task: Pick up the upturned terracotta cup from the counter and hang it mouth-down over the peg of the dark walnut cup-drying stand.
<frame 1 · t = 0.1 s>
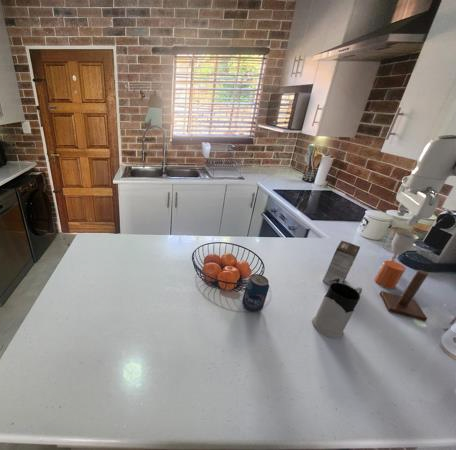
hand: (404, 219, 92), 27 cm above the countertop, tool pointing down, fingers open, 8 cm apart
stand: (400, 306, 89), on the countertop
cup: (384, 283, 101), on the countertop
soda can: (251, 306, 87), on the countertop
chalice: (386, 270, 109), on the countertop
glass holder: (332, 324, 81), on the countertop
coffee box: (333, 280, 102), on the countertop
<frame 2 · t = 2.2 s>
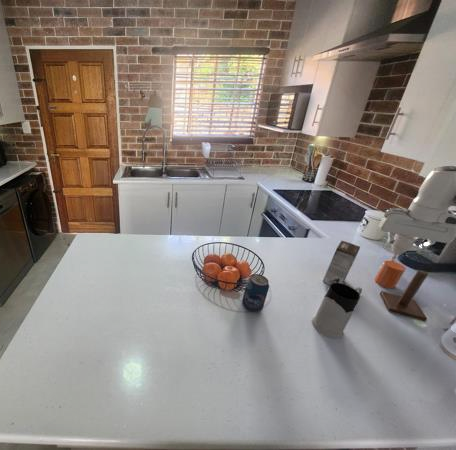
hand: (405, 245, 93), 18 cm above the countertop, tool pointing down, fingers open, 8 cm apart
nothing on the countertop moved.
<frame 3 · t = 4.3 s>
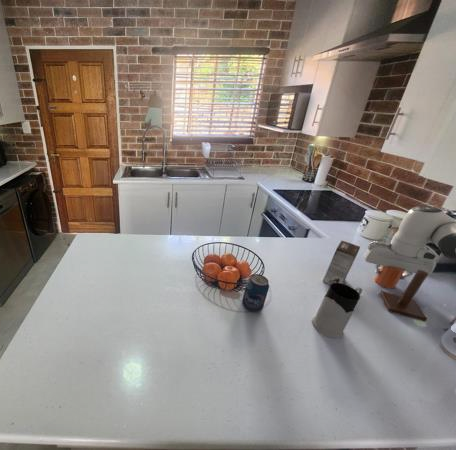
hand: (388, 276, 99), 4 cm above the countertop, tool pointing down, fingers closed on cup, 6 cm apart
cup: (384, 283, 101), on the countertop, touching gripper
everything else where it was.
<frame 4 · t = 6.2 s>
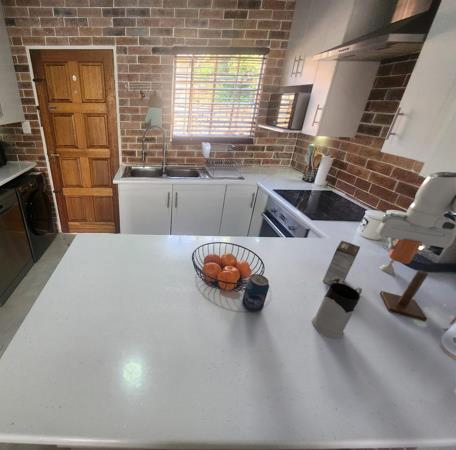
hand: (403, 250, 94), 16 cm above the countertop, tool pointing down, fingers closed on cup, 6 cm apart
cup: (399, 258, 95), point 12 cm above the countertop, touching gripper
everything else where it was.
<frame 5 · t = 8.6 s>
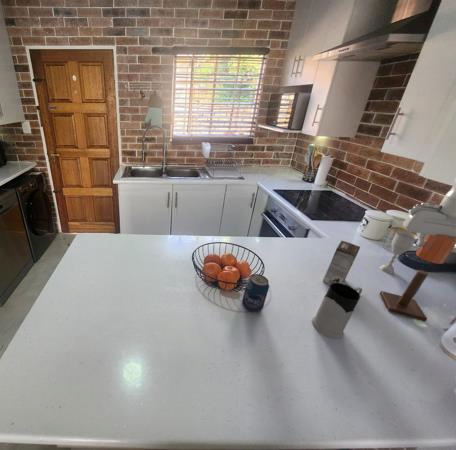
hand: (435, 248, 79), 24 cm above the countertop, tool pointing down, fingers closed on cup, 6 cm apart
cup: (429, 257, 81), point 21 cm above the countertop, touching gripper
everything else where it was.
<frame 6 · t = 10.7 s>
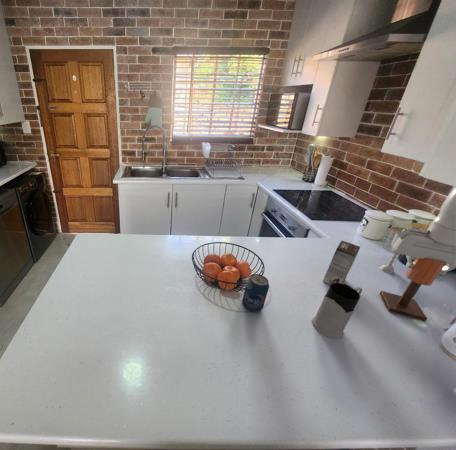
hand: (424, 270, 82), 16 cm above the countertop, tool pointing down, fingers closed on cup, 6 cm apart
cup: (418, 279, 84), point 13 cm above the countertop, touching gripper
everything else where it was.
when the fingers open (11 cm above the countertop, at t = 12.9 s): cup stays where it is, resting on stand.
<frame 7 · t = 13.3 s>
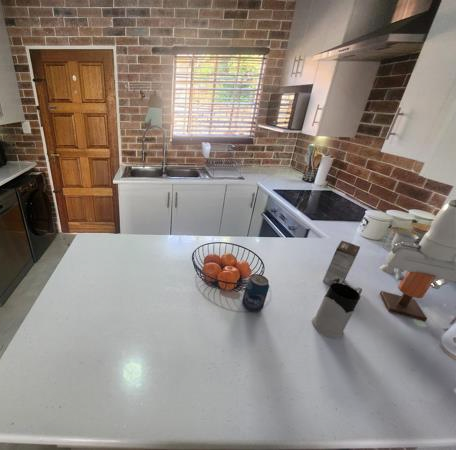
hand: (416, 283, 84), 11 cm above the countertop, tool pointing down, fingers open, 8 cm apart
cup: (410, 291, 86), point 7 cm above the countertop, touching stand
everything else where it was.
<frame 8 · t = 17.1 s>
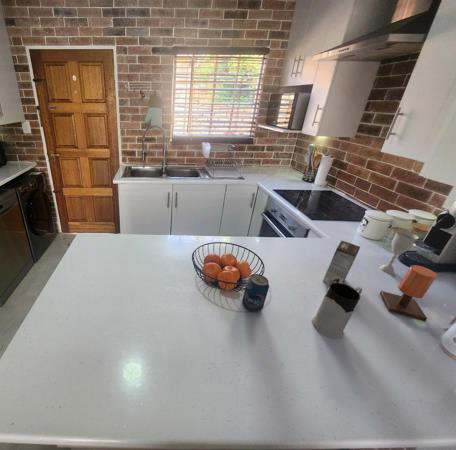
nothing on the countertop moved.
at the end: cup 0.1 cm off-centre on the stand, point 7.0 cm above the stand's base; cup tilted 0°; the gripper is holding nothing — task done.
